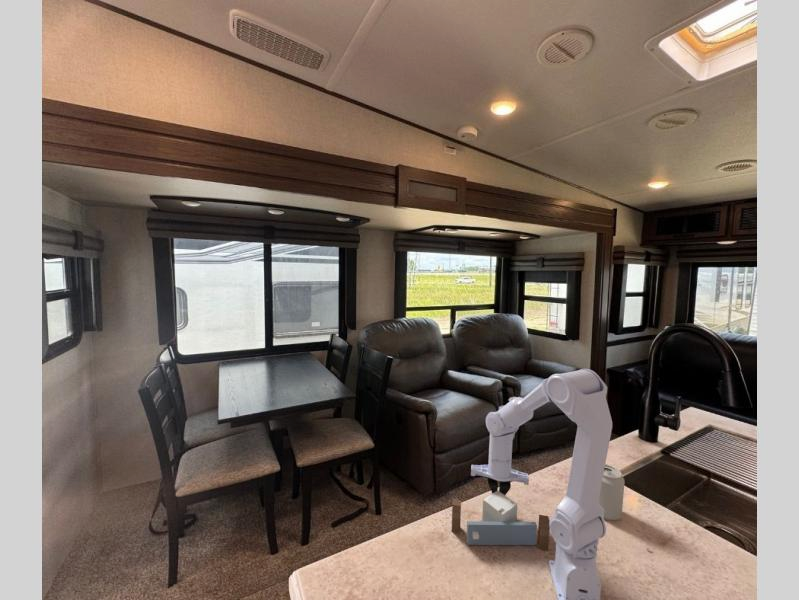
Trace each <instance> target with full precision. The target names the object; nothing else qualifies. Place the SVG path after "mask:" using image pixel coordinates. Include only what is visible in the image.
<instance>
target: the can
mask: <svg viewBox="0 0 799 600" xmlns="http://www.w3.org/2000/svg"><path fill="white" fill-rule="evenodd" d="M625 483H626V482H625V478H624V477H623V474H622V472H621V470H619V469H618V468H616V467H615V466H613V465H611V464H608V463H607V464H606V463H605V468H604V473H603V478H602V484H601V489H600V494H599V499H598V503H599V504H600V506H601V507H602V508H603V509H604V520H606V521H607V520H608V521H616V520H619V519H621V518H622V516H623V508H624V507H623V505H624V493H625V491H624V490H625Z"/></svg>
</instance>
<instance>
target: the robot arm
mask: <svg viewBox="0 0 799 600" xmlns="http://www.w3.org/2000/svg"><path fill="white" fill-rule="evenodd" d="M607 393H608V386H607V385H606V383H605V382H604V380H602V378H601V377H600V375H598V373H596V372H595V371H594V370H592V369H588V368H581V369H579V370H573V371H569V372H564V373H554V374H552V375H550V376H549V377H548V378H545V379H542V382H541V383H540V384H538V385H537V386H536V387H535V388H534V389H532V391H530V392H529V393H528V394H526V395H525V396H524V397H521V396H518V397H516V396H512V397H509V399H508V401H509V402H507V403H506V404H505V405H500V406H499V407H498V410H497V411H490V412H488V414H487V415H486V417H485V426H486V429H487V431H488V432H489V444H488V445H489V446H488V464H480V465H479V464H471V467H470V476H471V477H476V476H481V477H487V484H488V487H489V489H490V491H491V494H493V493H494V492H496V491H499V492H501V493H502V494H504V495H505V496H507V494H508V492H509V491H510V490H511V487H512V485H511V482H515V483H522V484H523V485H526V486H529V484H530V483H529V481H530V477H529V474H528V473H526V472H522V471H519V470H517V469H513V468H512V460H513V459H512V455H513V454H512V453H513V440H514V439H515V433H517V431H518V430H519V428H520V426H523V425H524V424H525V423H527V422H529V421H531V419H533V417H534V411H535V410H537V409H539V408H540V407H542V406H544V405H545V404H547V403H554V405H556V407H557V408H559V409H560V411H562V413H564V414H565V415H566V417H568V419H569V420H571V422H573V423H575V424H576V425H577V428H576V435H575V440H574V447H573V452H572V457H571V465H570V470H569V476H568V481H567V487H566V488H567V489H566V492H565V493H566V494H565V496H564V497H563V499H562V500H561V501H560V502H559V504H558V506H556V509H555V513H554V514H553V515H552V516H551V518H549V520H550V522H549V526H550V534H551V537H552V538H553V540H554V542H555V554H554V555H555V556H554V557H555V558H554V560H552V559H549V560H548V564H549V569H550V574H551V577H552V581H553V586H554V589H555V592H556V594H555V595H556V597H557V600H601V594H602V593H601V591H602V581H601V578H600V575H599V572H598V567H597V556H598V555H597V554H598V546H599V540H600V539H601V538H604V537H605V535H606V533H607V527H606V522H605V519H604V509H603V508H602V507H601V506H600V504H599V503H598V499H599V494H600V489H601V484H602V478H603V473H604V468H605V464H606V462H607V457H608V451H609V446H610V442H611V441H610V439H611V436H612V431H613V421H612V416H611V412H610V408H609V404H608V401H607ZM498 483H499V485H498Z"/></svg>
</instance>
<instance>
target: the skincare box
mask: <svg viewBox="0 0 799 600" xmlns="http://www.w3.org/2000/svg"><path fill="white" fill-rule="evenodd" d="M481 513H482V516H481V521H489V522H518V503H517V502H515V501H513V499H511V498H509V497H508V496H507V495H504V494H502V493H501V492H499V490H498V491H496V492H494V493H493V494H492V493H491V494H490V495H488V496H487V497H485V498H484V499H482V512H481Z"/></svg>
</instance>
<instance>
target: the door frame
mask: <svg viewBox="0 0 799 600" xmlns="http://www.w3.org/2000/svg"><path fill="white" fill-rule="evenodd" d="M451 508H452V510H451V512H452V513H451V532H453V533H457V534H460V533H461V532H460V531H461V521H462V520H461V517H462V516H461V515H462V512H461V511H462V500H460V499H454V498H453V499H452V506H451ZM549 522H550V517H549V516H548V515H544V514H539V515H538V525H537V527H538V528H537V546H538V549H539V550H542V551H545V552H549V545H550V534H551V531H550V526H549Z"/></svg>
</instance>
